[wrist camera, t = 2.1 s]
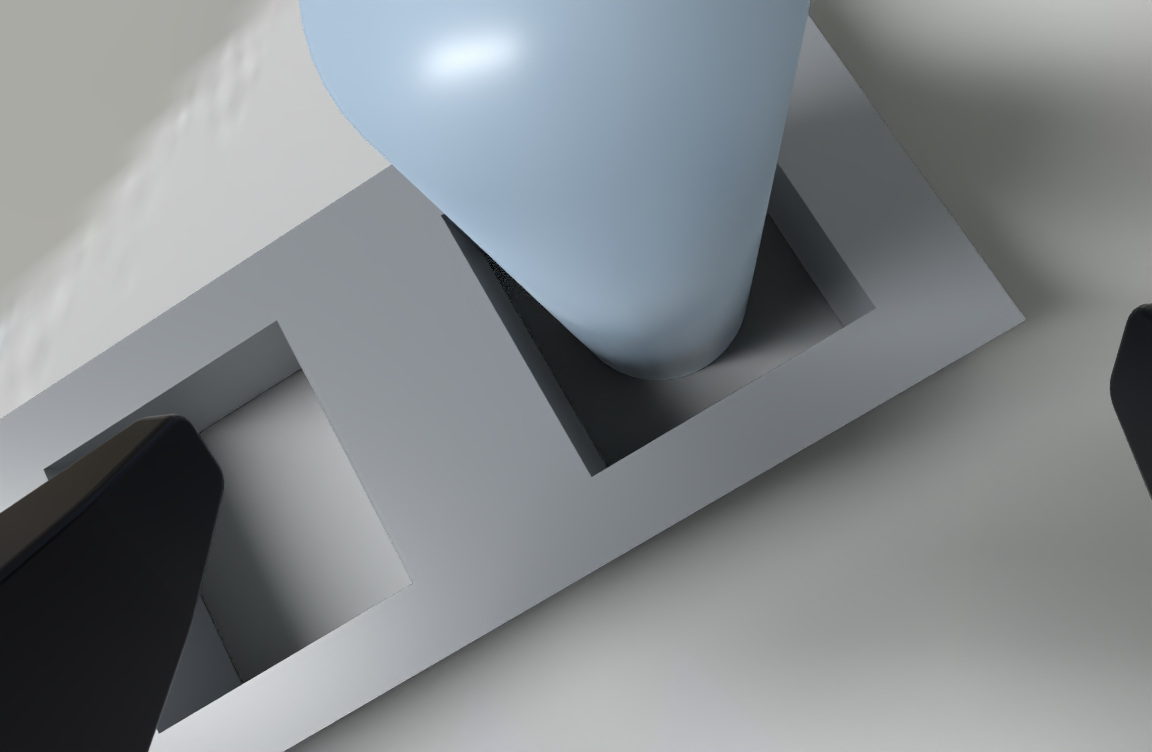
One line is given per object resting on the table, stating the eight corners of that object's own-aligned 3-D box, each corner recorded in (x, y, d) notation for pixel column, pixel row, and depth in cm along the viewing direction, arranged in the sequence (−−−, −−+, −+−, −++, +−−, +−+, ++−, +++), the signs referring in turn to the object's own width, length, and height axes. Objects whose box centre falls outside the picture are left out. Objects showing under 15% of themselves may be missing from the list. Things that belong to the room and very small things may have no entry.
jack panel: (743, 16, 19) (749, -68, 16) (971, 345, 17) (1025, 319, 14) (54, 457, 20) (-57, 456, 17) (202, 792, 19) (107, 853, 16)
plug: (707, 407, 18) (695, 280, 6) (544, 342, 19) (219, 104, 6) (775, 241, 18) (907, -238, 6) (610, 183, 19) (417, -346, 7)
